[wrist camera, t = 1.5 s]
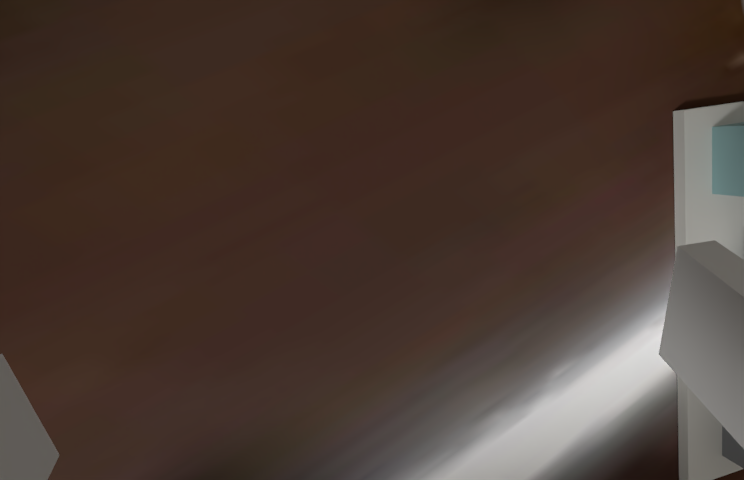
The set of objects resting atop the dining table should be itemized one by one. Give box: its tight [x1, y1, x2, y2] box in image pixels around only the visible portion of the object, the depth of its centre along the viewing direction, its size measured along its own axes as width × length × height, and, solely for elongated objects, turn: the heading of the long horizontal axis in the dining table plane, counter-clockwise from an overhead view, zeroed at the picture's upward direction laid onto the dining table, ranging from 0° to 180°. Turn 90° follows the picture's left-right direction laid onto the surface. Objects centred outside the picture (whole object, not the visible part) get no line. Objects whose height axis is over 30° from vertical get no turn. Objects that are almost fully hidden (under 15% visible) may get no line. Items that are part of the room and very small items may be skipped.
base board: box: [673, 101, 744, 480], centre depth 44 cm, size 31×12×1 cm, turn 7°
